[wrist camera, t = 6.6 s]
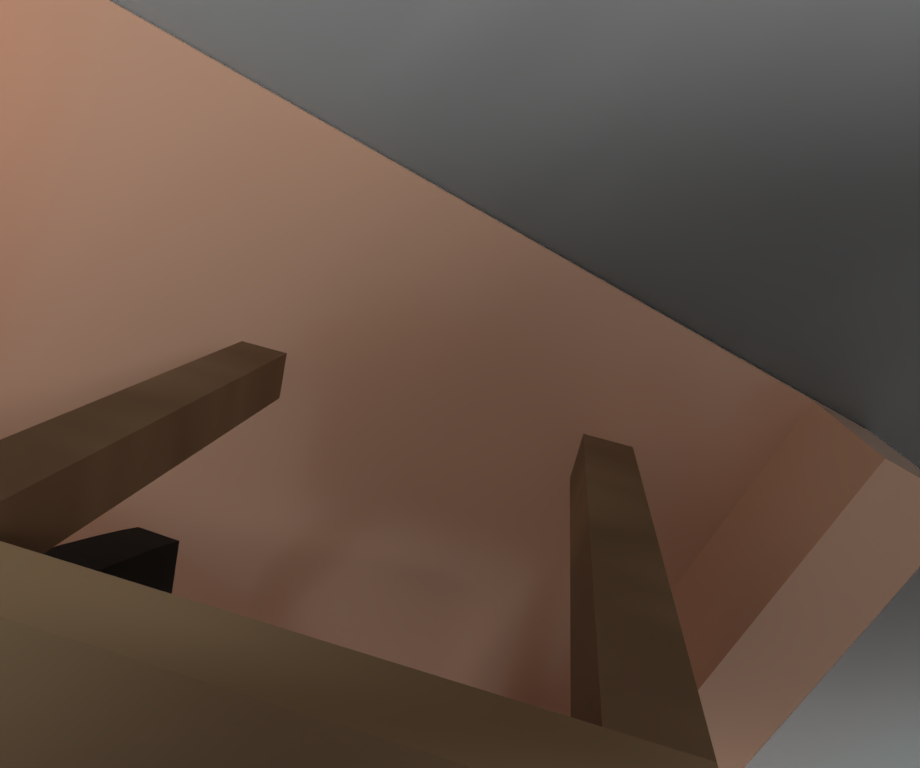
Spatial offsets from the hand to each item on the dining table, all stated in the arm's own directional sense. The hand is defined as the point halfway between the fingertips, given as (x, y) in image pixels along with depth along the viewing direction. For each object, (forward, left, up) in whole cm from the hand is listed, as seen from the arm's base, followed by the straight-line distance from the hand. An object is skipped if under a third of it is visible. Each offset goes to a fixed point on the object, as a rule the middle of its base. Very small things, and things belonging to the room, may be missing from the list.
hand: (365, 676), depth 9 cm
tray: (+4, 0, -3) cm, 5 cm away
